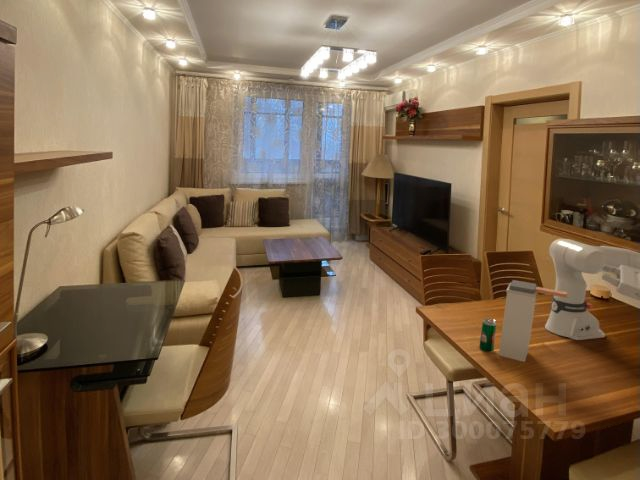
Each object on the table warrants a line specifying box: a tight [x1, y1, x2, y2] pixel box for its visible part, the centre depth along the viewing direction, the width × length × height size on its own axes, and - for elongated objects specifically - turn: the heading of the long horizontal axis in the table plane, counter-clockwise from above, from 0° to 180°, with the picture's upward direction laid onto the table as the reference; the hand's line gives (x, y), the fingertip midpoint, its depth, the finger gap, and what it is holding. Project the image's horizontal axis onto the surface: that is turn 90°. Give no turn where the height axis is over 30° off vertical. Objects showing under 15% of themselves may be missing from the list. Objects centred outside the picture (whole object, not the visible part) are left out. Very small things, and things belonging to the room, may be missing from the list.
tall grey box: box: [498, 282, 538, 363], centre depth 156 cm, size 10×10×26 cm
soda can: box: [478, 317, 497, 353], centre depth 161 cm, size 5×5×12 cm
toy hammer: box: [509, 279, 567, 298], centre depth 151 cm, size 18×8×2 cm, turn 59°
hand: (602, 271), depth 140 cm, fingers open, 8 cm apart
